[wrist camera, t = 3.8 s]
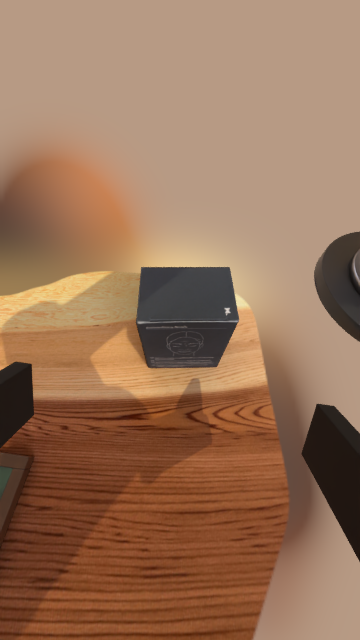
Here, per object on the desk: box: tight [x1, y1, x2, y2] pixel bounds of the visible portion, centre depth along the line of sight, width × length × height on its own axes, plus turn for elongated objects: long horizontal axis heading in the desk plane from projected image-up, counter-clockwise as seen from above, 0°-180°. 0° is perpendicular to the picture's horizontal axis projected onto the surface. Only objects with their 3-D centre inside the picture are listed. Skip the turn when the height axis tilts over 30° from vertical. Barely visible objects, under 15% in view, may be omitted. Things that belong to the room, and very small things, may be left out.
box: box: [136, 267, 239, 368], centre depth 24 cm, size 8×6×11 cm
